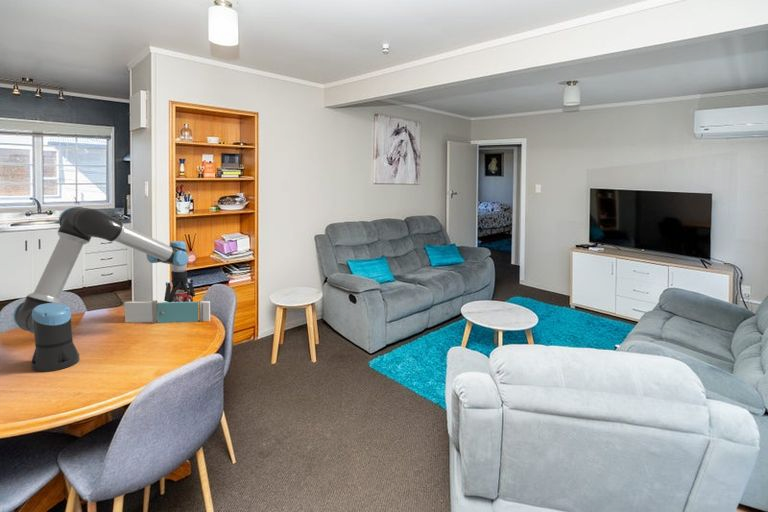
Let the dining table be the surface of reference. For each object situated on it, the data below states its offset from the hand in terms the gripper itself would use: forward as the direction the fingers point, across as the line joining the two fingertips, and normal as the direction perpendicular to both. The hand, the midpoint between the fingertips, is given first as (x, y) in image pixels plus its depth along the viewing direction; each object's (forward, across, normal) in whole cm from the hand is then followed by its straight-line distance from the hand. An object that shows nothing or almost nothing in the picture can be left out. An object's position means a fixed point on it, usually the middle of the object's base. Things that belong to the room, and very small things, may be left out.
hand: (180, 311), depth 229 cm
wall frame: (+4, +7, +1) cm, 8 cm away
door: (+4, +4, +6) cm, 8 cm away
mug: (+3, 0, 0) cm, 3 cm away
